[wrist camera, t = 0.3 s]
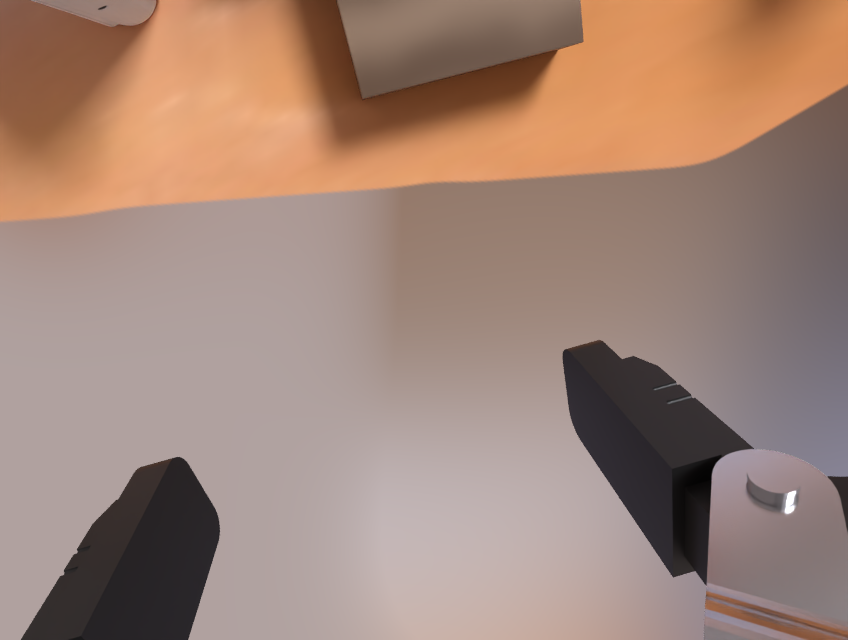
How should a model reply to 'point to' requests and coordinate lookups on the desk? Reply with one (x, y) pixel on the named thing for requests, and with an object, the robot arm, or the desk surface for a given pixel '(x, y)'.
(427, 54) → the walnut block
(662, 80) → the desk surface
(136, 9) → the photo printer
